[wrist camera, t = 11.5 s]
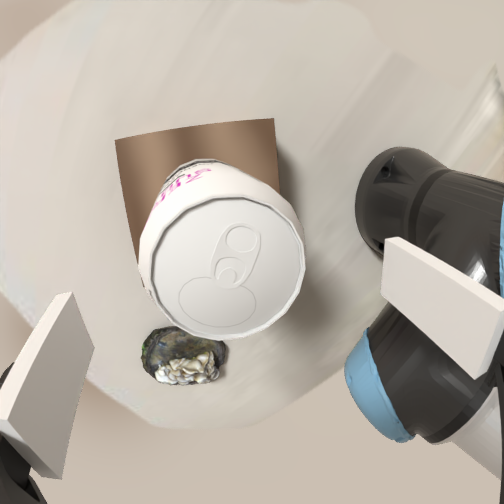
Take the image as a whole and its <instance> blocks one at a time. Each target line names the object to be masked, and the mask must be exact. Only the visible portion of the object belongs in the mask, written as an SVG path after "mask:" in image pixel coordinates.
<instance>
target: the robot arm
mask: <svg viewBox="0 0 504 504" xmlns="http://www.w3.org/2000/svg"><path fill="white" fill-rule="evenodd" d="M355 215H356V221H357V225H358V228H359V231H360V233H361V235H362V237H363V239H364V240H365V241H366V243H367V244H368V245H369V246H370V247H372V248H373V249H374V250H376V251H377V252H379V253H381V254H382V255H384V260H383V272H382V282H381V291H380V294H381V295H382V296H383V297H384V298H385V299H386V300H388V301H389V302H388V304H387V305H386V306H385V308H384V309H383V310H382V312H381V313H380V314H379V316H378V317H377V318H376V320H375V321H374V322H373V323H372V325H371V326H370V327H368V328H367V329H366V330H365V331H364V333H363V337H362V338H361V339H360V341H359V342H358V343H357V345H356V346H355V347H354V349H353V350H352V351H351V353H350V354H349V356H348V357H347V360H346V362H345V368H344V372H345V379H346V383H347V385H348V388H349V390H350V393H351V395H352V397H353V399H354V401H355V402H356V404H357V406H358V407H359V409H360V410H361V412H362V413H363V414H364V415H365V417H366V418H367V419H368V420H369V422H370V423H371V424H372V425H373V426H374V427H375V428H376V429H377V430H378V431H379V432H380V433H382V434H383V435H384V436H386V437H387V438H389V439H391V440H395V441H396V442H399V443H404V442H407V441H408V440H412V439H413V438H414V437H415V435H416V434H419V435H420V436H422V437H423V438H424V439H425V440H427V441H428V442H429V443H431V444H432V445H439V444H443V443H447V442H451V441H452V442H454V443H455V444H456V445H457V446H459V447H460V448H461V449H462V450H463V451H465V452H466V453H467V454H469V455H470V456H471V457H472V458H473V459H475V460H476V461H477V462H478V463H480V464H481V465H482V466H483V467H485V468H486V469H487V470H489V471H490V472H491V473H492V474H494V475H495V476H496V477H497V478H499V479H500V480H501V492H500V504H504V183H502V182H499V181H495V180H491V179H487V178H484V177H480V176H476V175H472V174H468V173H463V172H459V171H455V170H451V169H448V168H447V167H446V166H444V165H443V164H441V163H440V162H439V161H437V160H436V159H434V158H433V157H432V156H430V155H429V154H427V153H425V152H424V151H421V150H419V149H415V148H408V147H394V148H390V149H388V150H386V151H384V152H382V153H381V154H379V155H378V156H377V157H376V158H375V159H373V161H372V162H371V163H370V164H369V165H368V167H367V168H366V170H365V172H364V173H363V175H362V177H361V180H360V183H359V185H358V189H357V193H356V200H355ZM93 351H94V345H93V343H92V341H91V338H90V336H89V334H88V331H87V329H86V326H85V324H84V321H83V319H82V316H81V314H80V311H79V308H78V306H77V303H76V300H75V297H74V294H73V292H68V293H62V294H57V295H56V296H55V298H54V299H53V301H52V302H51V304H50V305H49V307H48V308H47V310H46V311H45V313H44V314H43V316H42V318H41V319H40V321H39V322H38V324H37V325H36V327H35V329H34V330H33V332H32V334H31V335H30V337H29V339H28V340H27V342H26V344H25V345H24V347H23V349H22V351H21V353H20V354H19V356H18V357H17V359H16V361H15V362H13V363H12V364H11V365H10V366H9V367H8V368H7V369H6V370H5V371H4V373H3V375H2V376H1V378H0V504H47V502H46V500H45V499H44V497H43V495H42V494H41V492H40V490H39V488H38V486H37V485H36V483H35V481H34V480H33V478H32V477H31V476H30V475H29V472H30V468H31V467H32V468H33V469H34V470H35V471H36V472H37V473H38V474H39V475H40V476H41V477H47V478H53V479H62V474H63V469H64V463H65V458H66V452H67V448H68V443H69V439H70V434H71V430H72V426H73V422H74V417H75V413H76V409H77V406H78V402H79V398H80V394H81V391H82V387H83V384H84V380H85V377H86V374H87V370H88V367H89V364H90V360H91V357H92V354H93Z"/></svg>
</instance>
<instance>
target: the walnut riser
mask: <svg viewBox="0 0 504 504" xmlns="http://www.w3.org/2000/svg"><path fill="white" fill-rule="evenodd" d="M115 146H116V153H117V160H118V167H119V173H120V179H121V185H122V191H123V197H124V202H125V207H126V213H127V218H128V223H129V227H130V232H131V237H132V241H133V246H134V250H135V254H136V259H137V263H139V247H140V237H141V235H142V232H143V230H144V227H145V225H146V222H147V220H148V218H149V215H150V213H151V210H152V208H153V206H154V203H155V201H156V199H157V197H158V194H159V192H160V190H161V188H162V186H163V184H164V182H165V180H166V178H167V177H168V176H169V175H170V174H171V173H172V172H173V171H174V170H176V169H177V168H178V167H179V166H180V165H182V164H185V163H187V162H190V161H192V160H195V159H216V160H219V161H222V162H225V163H228V164H230V165H232V166H234V167H236V168H238V169H239V170H241V171H243V172H245V173H247V174H249V175H251V176H252V177H254V178H256V179H258V180H260V181H262V182H263V183H265V184H267V185H269V186H270V187H271V188H272V189H274V190H275V191H276V192H277V193H278V194H279V195H280V188H279V174H278V161H277V149H276V137H275V126H274V118H271V119H256V120H243V121H233V122H223V123H214V124H206V125H198V126H190V127H183V128H177V129H170V130H164V131H159V132H153V133H147V134H142V135H137V136H132V137H127V138H122V139H118V140H115ZM140 275H141V274H140ZM141 279H142V277H141ZM142 283H143V280H142ZM143 287H145V286H144V283H143Z"/></svg>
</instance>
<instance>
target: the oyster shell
mask: <svg viewBox="0 0 504 504" xmlns="http://www.w3.org/2000/svg"><path fill="white" fill-rule="evenodd" d="M142 350H143V351H142V356H141V359H142V362H143V368H144V369H145V370H146V372H147V373H149V374H150V375H151V376H152V377H153V378H155V379H156V380H157V381H158V382H160V383H163V384H169V385H177V384H179V385H189V384H191V385H193V384H195V383H198V384H204V383H205V384H206V383H209V382H211V381H212V380H214V379H217V378H218V376H219V374H220V371H219V366H220V365H222V364H223V362H224V357H225V355H224V353H225V346H224V343H223V341H222V340H221V341H217V340H212V339H207V338H202V337H197V336H193V335H191V334H190V333H188V332H186V331H184V330H183V329H181V328H179V327H177V326H168V327H164V328H160V329H155V330H153V332H152V333H151V334H150V335H149V336H148V337H147V339H146V340H145V341H144V343H143V346H142Z"/></svg>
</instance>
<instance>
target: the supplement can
mask: <svg viewBox="0 0 504 504" xmlns="http://www.w3.org/2000/svg"><path fill="white" fill-rule="evenodd" d="M305 258H306V250H305V240H304V230H303V227H302V226H301V224H300V222H299V220H298V218H297V216H296V214H295V212H294V210H293V208H292V206H291V204H290V203H288V202H287V201H286V200H285V199H284V198H283V197H282V196H280V195H279V194H278V193H277V192H276V191H275V190H274V189H272V188H271V187H270V186H269V185H267V184H265V183H263V182H262V181H260V180H258V179H256V178H254V177H252V176H251V175H249V174H247V173H245V172H243V171H241V170H239V169H238V168H236V167H234V166H232V165H230V164H228V163H225V162H222V161H219V160H216V159H195V160H192V161H190V162H187V163H185V164H182V165H180V166H179V167H178V168H177V169H176V170H174V171H173V172H172V173H171V174H170V175H169V176H168V177H167V178H166V180H165V182H164V184H163V186H162V188H161V190H160V192H159V194H158V197H157V199H156V201H155V203H154V206H153V208H152V210H151V213H150V215H149V218H148V220H147V222H146V225H145V227H144V230H143V232H142V235H141V237H140V247H139V263H138V268H139V271H140V274H141V277H142V280H143V283H144V286H145V289H146V292H147V294H148V295H149V297H150V298H151V299H152V300H153V301H154V303H155V304H156V305H157V306H158V308H159V309H160V310H161V311H162V312H163V313H164V314H165V316H166V317H167V318H168V319H169V320H170V321H171V323H172V324H174V325H176V326H177V327H179V328H181V329H183V330H184V331H186V332H188V333H190V334H191V335H193V336H197V337H202V338H207V339H212V340H217V341H221V340H231V339H240V338H245V337H247V336H250V335H252V334H255V333H257V332H259V331H262V330H264V329H266V328H268V327H269V326H270V325H271V324H273V323H274V322H275V321H276V320H278V319H279V318H280V317H281V316H283V315H284V314H285V313H286V312H287V310H288V309H289V307H290V306H291V304H292V303H293V301H294V300H295V298H296V297H297V295H298V294H299V292H300V288H301V284H302V281H303V277H304V273H305V269H306V268H305Z"/></svg>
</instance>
